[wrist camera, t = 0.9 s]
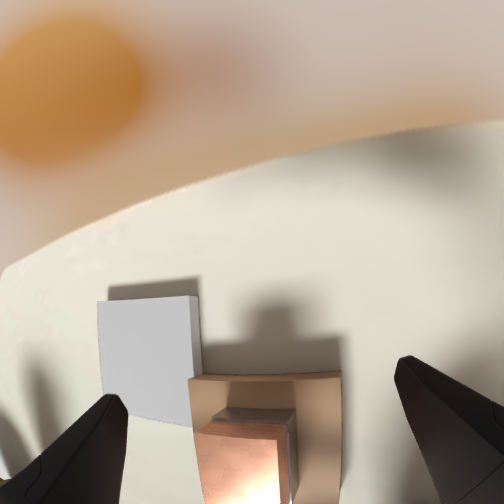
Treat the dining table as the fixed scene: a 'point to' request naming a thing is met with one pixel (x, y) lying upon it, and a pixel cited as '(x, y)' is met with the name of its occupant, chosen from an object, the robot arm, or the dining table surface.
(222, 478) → the housing
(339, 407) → the walnut plinth
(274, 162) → the dining table surface
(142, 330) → the ceramic tile
